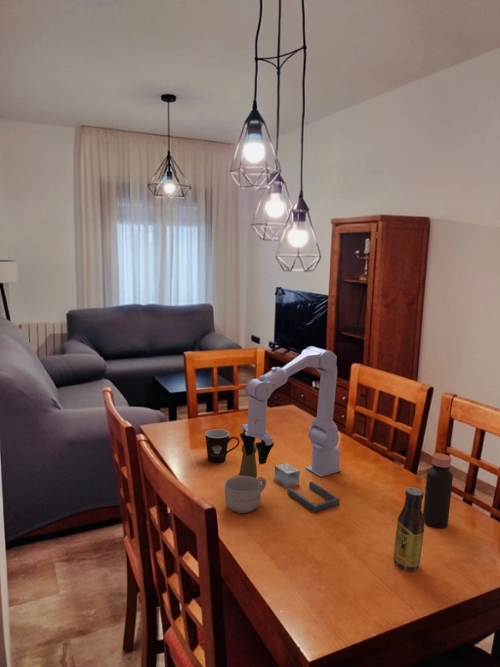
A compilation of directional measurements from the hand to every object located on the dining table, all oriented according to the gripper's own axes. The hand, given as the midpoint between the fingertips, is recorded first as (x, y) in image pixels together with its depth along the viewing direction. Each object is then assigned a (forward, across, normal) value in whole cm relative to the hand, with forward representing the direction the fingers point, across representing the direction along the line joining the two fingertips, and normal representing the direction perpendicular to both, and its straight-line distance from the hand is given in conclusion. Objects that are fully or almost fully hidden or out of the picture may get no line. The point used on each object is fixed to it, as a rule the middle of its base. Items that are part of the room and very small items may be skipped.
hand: (255, 459), depth 154 cm
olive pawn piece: (+10, -10, +4) cm, 15 cm away
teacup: (+10, +8, -8) cm, 15 cm away
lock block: (+10, +1, +12) cm, 16 cm away
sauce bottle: (+10, +51, +11) cm, 53 cm away
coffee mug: (+10, -24, +1) cm, 26 cm away
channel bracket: (+10, +14, +12) cm, 21 cm away
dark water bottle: (+10, +42, +34) cm, 55 cm away
